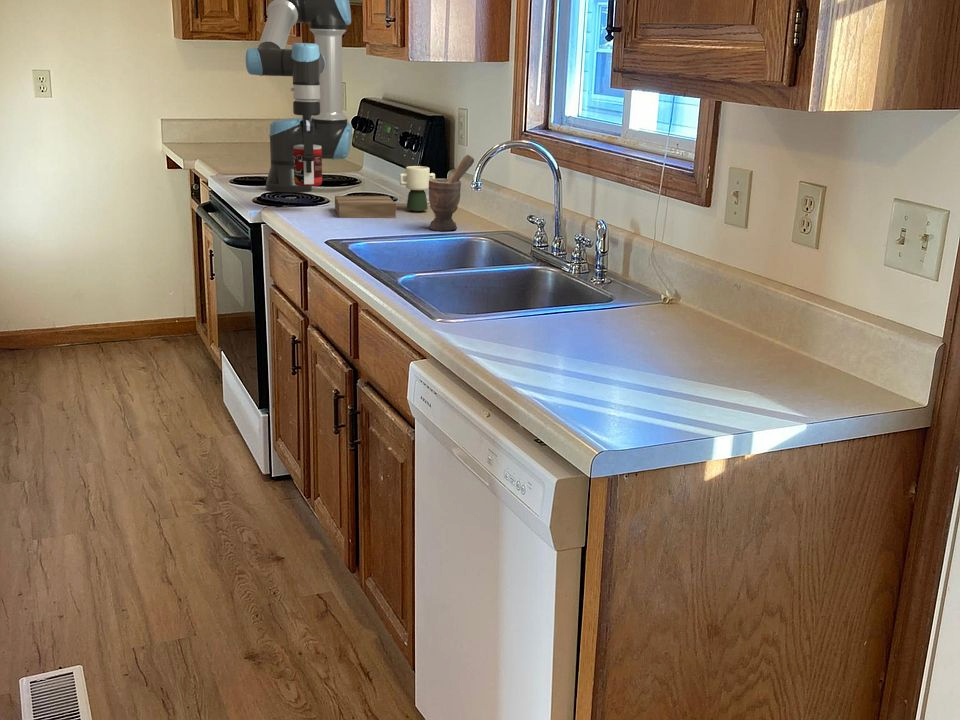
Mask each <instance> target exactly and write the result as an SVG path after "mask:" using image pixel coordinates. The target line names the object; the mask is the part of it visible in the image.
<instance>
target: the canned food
mask: <svg viewBox="0 0 960 720" xmlns="http://www.w3.org/2000/svg"><path fill="white" fill-rule="evenodd" d="M313 156H314V160H313V164H314V184H304V161H302V158H304V145H303V144H300V145H294V146H293V158H294V182H295V184H296V185H299V186H312V187H318V186H321V185H322V183H323V159H322V148H321V146H320V145H313Z"/></svg>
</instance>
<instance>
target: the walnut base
mask: <svg viewBox="0 0 960 720" xmlns="http://www.w3.org/2000/svg"><path fill="white" fill-rule="evenodd" d="M396 208H397V204H396V203H395V201H394V200H393V199H392V198H391V197H390V195H334V210H335V212H336V215H337V217H338V218H339V219H370V218H371V219H396V216H397V214H396V211H397V210H396Z"/></svg>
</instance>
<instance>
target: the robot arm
mask: <svg viewBox="0 0 960 720" xmlns="http://www.w3.org/2000/svg"><path fill="white" fill-rule="evenodd" d="M266 15H267V19H266V22H265V25H264V27H263V30H262V34H261V36H260V39H259V42H258V44H257V47H256V46H255V47H249V48H248V49H247V50H246V52H245V67H246V71H247V73H248V74H249V75H251V76H259V77H262V76H266V77H292V87H291V88H290V92H292V98H293V99H294V101H293V102H292V107H293V108H292V111H293V114H294V115H296V116H302V117H296V118H295V117H294V118H292V117H291V118H284V119H278V120H274V121H272V122H271V123H270V124H269V134H268V136H269V146H270V147H269V149H270V150H269V151H270V153H269V154H270V168H269V172H268V175H267V178H266V182H265V190H267V191H269V192H275V193H276V192H277V193H304V192H305V193H306V192H311V191H312V190H313V186H299V185H296V184H295V182H294V158H293V146H294V145H300V144H303V145H304V158H302V161H304V184H314V164H313V160H314V156H313V145H320V146H321V148H322V160H333V161H335V160H345V159H346V158H347V157H348V156H349V153H350V149H351V143H352V135H353V125H352V124H351V123H350V122H348V117H347V116H346V114H344V113H343V112H344V111H343V108H344V107H343V48H342V47H343V38H342V37H343V35H344V34H345V33H346V32H347V26H350V25H351V24H352V11H351V3H350V0H270V1H269V3H268V5H267V9H266ZM296 24H309V31H310V32H311V33H313V36H314V43H310V42H308V43H307V42H294V43H292V45H291V49H290V48H286V47H287V43H288V41H289V37H290V33H291V31H292V27H294V26H295V25H296Z"/></svg>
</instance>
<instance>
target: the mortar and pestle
mask: <svg viewBox="0 0 960 720" xmlns="http://www.w3.org/2000/svg"><path fill="white" fill-rule="evenodd" d="M474 162H475V159H474V157H473V156H471V155H469V154H466V155H465V156H464V157H463V158H462V160H461V161H460V163H459V164H458V167H457V168H456V170H455V172H454V173H453V175H452V176H451V178H435V179H432V178H429V189H428V202H429V204H430V206H429V207H430V210H432V212H433V214H434V216H435V218H434V219H433V220H432V221H430V224H429V226H428V227H429V228H430V230H433V231H438V232H439V231H440V232H441V231H443V232H445V231H446V232H447V231H448V232H449V231H454V230H457V224H456V222H455V221H454V220H453V214H454V213H456V212H457V210H458V205H459V203H460V200H461V190H462V189H461V188H462V181H461V178H463V176H464V174H465V173H466V172H467V171H468V170H469V169H470V168H471V166H472V165H473V164H474Z"/></svg>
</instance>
